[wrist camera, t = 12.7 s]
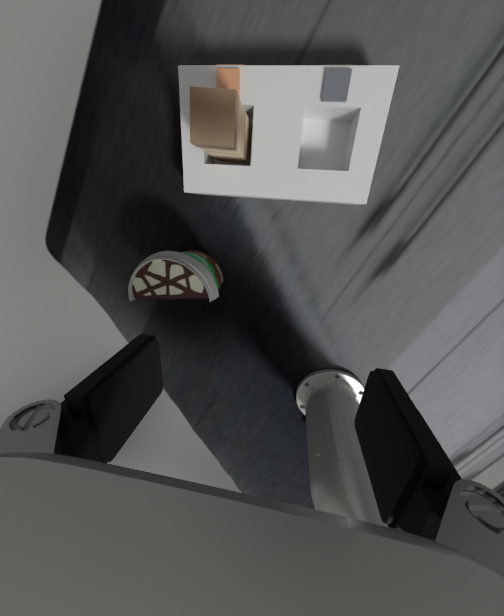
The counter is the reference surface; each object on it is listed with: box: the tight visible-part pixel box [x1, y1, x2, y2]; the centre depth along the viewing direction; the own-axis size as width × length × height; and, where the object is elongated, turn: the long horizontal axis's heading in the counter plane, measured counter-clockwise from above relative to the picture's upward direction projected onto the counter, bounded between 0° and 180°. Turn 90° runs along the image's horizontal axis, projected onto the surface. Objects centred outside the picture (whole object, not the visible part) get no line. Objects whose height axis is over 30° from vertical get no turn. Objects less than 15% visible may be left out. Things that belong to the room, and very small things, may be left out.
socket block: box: [178, 64, 399, 205], centre depth 28 cm, size 12×22×5 cm, turn 87°
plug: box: [190, 86, 253, 164], centre depth 25 cm, size 4×4×10 cm
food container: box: [128, 250, 224, 302], centre depth 34 cm, size 12×6×10 cm, turn 94°
